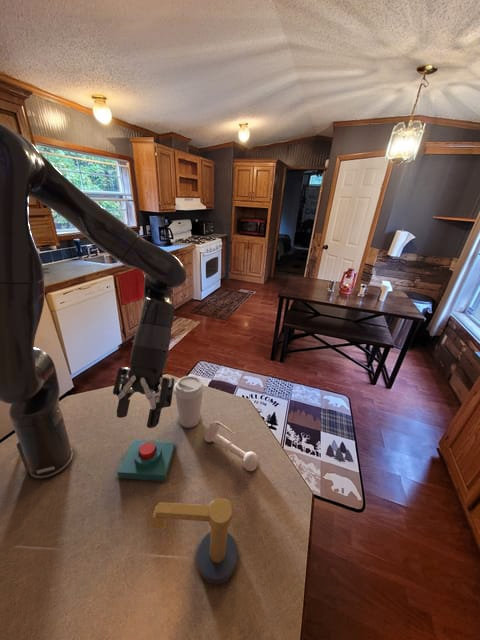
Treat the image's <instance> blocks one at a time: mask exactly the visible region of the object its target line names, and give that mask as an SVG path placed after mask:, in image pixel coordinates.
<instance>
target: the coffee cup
mask: <svg viewBox="0 0 480 640" xmlns="http://www.w3.org/2000/svg"><path fill="white" fill-rule="evenodd" d="M204 392H205V384H204V382H203V381H202V379H201V378H200V377H199V376H195V375H185V376H182V377H180V378H179V379H177V381H176V383H174V387H173V394H174V395H175V400H176V406H177V414H178V421H179V424H180V425H181V427H184V428H189V429H190V428H194V427H195V426H197V425H198V424H199V422H200V416H201V410H202V409H201V408H202V400H203V395H204Z"/></svg>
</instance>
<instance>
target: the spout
mask: <svg viewBox="0 0 480 640" xmlns="http://www.w3.org/2000/svg"><path fill="white" fill-rule="evenodd" d="M232 516H233V506H232V504H231V503H230V501H229V500H228V499H226V498H224V497H218V498H216V499H214V500H212V502H211V503H210V504H209V505H207V504H206V505H205V504H193V503H191V504H190V503H178V502H177V503H176V502H162V501H158V504H157V505H155V507H154V510H153V514H152V526H153V529H162V530H163V529H165V528H166V524H167V520H178V521H179V520H180V521H197V522H208V524H209V526H210V528H211V527H212V528H213V529H214V530H216V531H224V530H226V529H227V528H228V529H229V527H230V525H231V524H232V518H233V517H232Z"/></svg>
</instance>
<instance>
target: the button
mask: <svg viewBox="0 0 480 640" xmlns="http://www.w3.org/2000/svg"><path fill="white" fill-rule="evenodd" d="M139 452H140V457H141V458H142V459H149V458H151V457H153V456H154V454H155V452H156V450H155V444H154V443H152V442H146V443H144V444H142V445H141V446H140V449H139Z"/></svg>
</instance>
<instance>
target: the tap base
mask: <svg viewBox="0 0 480 640" xmlns="http://www.w3.org/2000/svg"><path fill="white" fill-rule="evenodd" d="M228 531H229V527H228V528H227V529H226V530H224V531H216V530H214V529H213V528H212V527H211V526H210V532H208V533H207V534H205V535H204V537H202V539H201V541H200V542H199V545H198V548H197V557H196V559H197V560H196V561H197V564H196V565H197V569H198V572H199V574H200V576H201V578H202V579H203V580H204V581H205V582H207V583H208V584H210V585H214V586H215V585H216V586H217V585H222V584H224V583H226V582H228V580H229V579H231V577H232V576H233V574H234V573H235V570H236V567H237V563H238V547H237V546H238V545H237V543H236V541H235V539H234V537H233V536H232V535H231V534H230V533H229V532H228Z"/></svg>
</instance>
